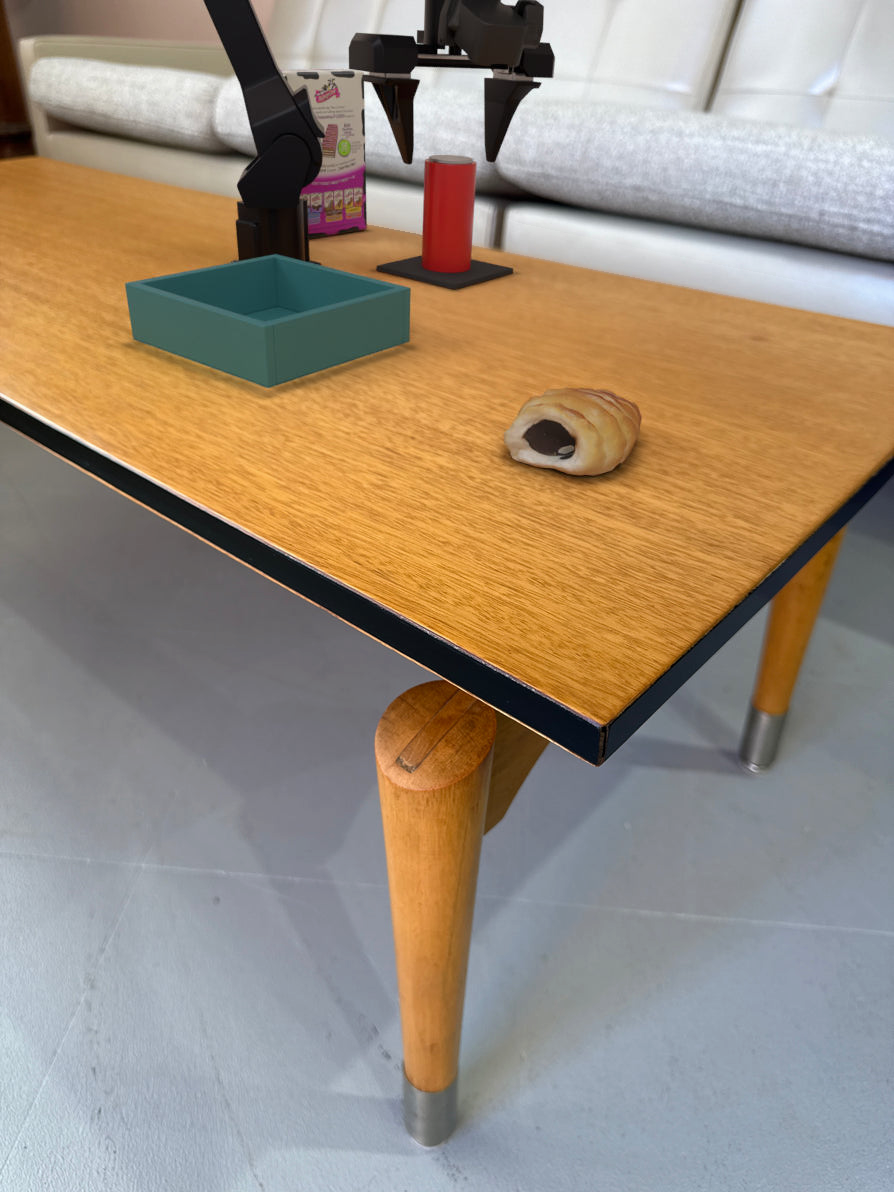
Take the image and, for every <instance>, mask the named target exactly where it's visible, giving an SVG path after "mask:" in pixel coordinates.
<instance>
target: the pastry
mask: <svg viewBox="0 0 894 1192" xmlns="http://www.w3.org/2000/svg"><path fill="white" fill-rule="evenodd" d="M641 423H642V414H641V411H640V408H639V406H638V405H637V404H636V403H635V402H633V401H630V400H628V399H626V398H624V397H623V396H619V395H617V394H616V393H615V392H613V391H610V390H608V389H604V388H598V389H597V388H596V389H595V388H591V387H590V388H589V387H586V388H585V387H578V388H574V387H563V388H551V389H546V390H545V391H544V392H543V393H542V395H536V396H532V397H530V398H529V399H528V400H526V401H525V402H524V403H523V404H522V406H521V407H520V408H519V410H518V413H517V416H516V417H515V418H514V420H513V422H512V423H511V425H510V426H509V428H507V429H506V430H505V431H504V433H503V436H502V437H503V443H504V445H505V446H506V448H507V449H508V450H509V452H510V457H511V458H512V459H513V460H515V461H516V462H518V463H519V462H520V463H523V464H526V465H529V466H531V467H534V468H535V467H536V468H545V469H554V470H557V471H559V472H562V473H565V474H568V475H574V476H585V475H586V476H591V477H595V476H597V475H598V476H599V475H601V474H604V473H608V472H612V471H613V470H614V469H615V468H616V467H617V466H618V465H619V464H621V465H622V464H623V463H624V461H626V459H627V457H628V456H629V455H630V453H631V451H632V450H633V447H634V446H635V443H636V441H637V439H638V437H639V435H640V431H641Z"/></svg>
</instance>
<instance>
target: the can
mask: <svg viewBox="0 0 894 1192" xmlns="http://www.w3.org/2000/svg"><path fill="white" fill-rule="evenodd" d="M477 166H478V162H477V161H474V158H472V157H470V156H464V155H456V154H433V155H429V156H428V158H425V159H424V165H423V167H424V169H423V170H424V171H423V174H424V175H423V198H422V199H423V203H422V204H423V205H422V207H423V209H422V236H421V239H422V240H421V241H422V243H421V255H422V267H423V268H424V269H427V270H430V271H435V272H443V273H458V272H465V271H468V270H470V268H471V259H472V253H473V252H472V251H473V236H474V235H473V233H474V220H475V219H474V217H475V201H476V199H475V198H476V185H477V168H478V167H477Z"/></svg>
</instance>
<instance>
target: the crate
mask: <svg viewBox="0 0 894 1192" xmlns="http://www.w3.org/2000/svg"><path fill="white" fill-rule="evenodd" d="M124 288H125V295H126V300H127V306H128V314H129V321H130V327H131V334H132V339H133V340H134V341H136V342H139V343H142V344H145V345H147V346H151V347H154V348H156V349H159V350H162V351H164V352H167V353H169V354H172V355H175V356H178V357H181V358H184V359H186V360H189V361H192V362H194V363H197V364H200V365H203V366H206V367H209V368H211V369H214V370H217V371H220V372H222V373H225V374H228V375H230V376H233V377H236V378H239V379H242V380H244V381H247V382H249V383H253V384H255V385H257V386H261V387H264V388H267V389H271V388H273V387H276V386H279V385H283V384H285V383H289V382H291V381H294V380H295V381H296V380H297V379H300V378H304V377H307V376H309V375H313V374H316V373H318V372H322V371H325V370H328V369H330V368H331V369H332V368H334V367H337V366H340V365H343V364H346V363H348V362H349V363H350V362H353V361H354V360H355V361H356V360H359V359H361V358H364V357H367V356H370V355H374V354H377V353H379V352H383V351H385V350H388V349H392V348H395V347H398V346H400V345H403V344H406V343H409V342H410V335H411V334H410V329H411V296H412V295H411V291H412V290H411V287H409V286H405V285H401V284H397V283H393V282H390V281H385V280H381V279H377V278H374V277H370V276H366V275H361V274H358V273H357V274H356V273H353V272H349V271H346V270H341V269H337V268H334V267H329V266H325V265H322V264H321V265H317V264H313V263H309V262H305V261H301V260H297V259H293V258H289V257H285V256H281V255H277V254H274V255H269V256H263V257H258V258H253V259H248V260H243V261H237V262H232V263H231V262H228V263H223V264H217V265H216V264H215V265H212V266H206V267H201V268H196V269H191V270H186V271H180V272H175V273H170V274H164V275H160V276H159V275H158V276H155V277H149V278H145V279H138V280H135V281H134V280H133V281H128V282H125V283H124Z"/></svg>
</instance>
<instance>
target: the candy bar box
mask: <svg viewBox="0 0 894 1192" xmlns="http://www.w3.org/2000/svg"><path fill="white" fill-rule="evenodd" d="M280 71H281V72H282V74H283V76H284V77H285V79H286V80H287V82H288V83H289V85H290V87H291V88H292V90H293V91H296V90H297V89H298V88H300V87H301V86H303V85H304V84H305V85H307V88H308V93H309V97H310V101H311V105H312V109H313V112H314V114H315V116H316V118H317V120H318V121H319V122H320V123H321V124H322V126H323V127H324V131H325V137H324V138H320V139H321V143H322V154H323V162H322V166H321V169H320V172H319V174H318V176H317V177H316V178H315V180H314V181H313V182H312V183H311V184H309V185H308V186H306V187H305V188H302V191H301V194H300V199H305V200H307V204H308V230H309V239H316V238H321V237H327V236H333V235H339V234H346V233H351V232H352V233H353V232H358V231H364V230H367V229H368V224H367V223H368V221H367V220H368V219H367V218H368V217H367V216H368V215H367V171H366V170H367V165H366V164H367V162H366V115H365V114H366V113H365V112H366V111H365V81H363V78H362V75H363V74H365V71H359V70H352V69H343V68H338V69H337V68H336V69H335V68H333V69H332V68H305V69H304V68H303V69H280Z"/></svg>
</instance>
